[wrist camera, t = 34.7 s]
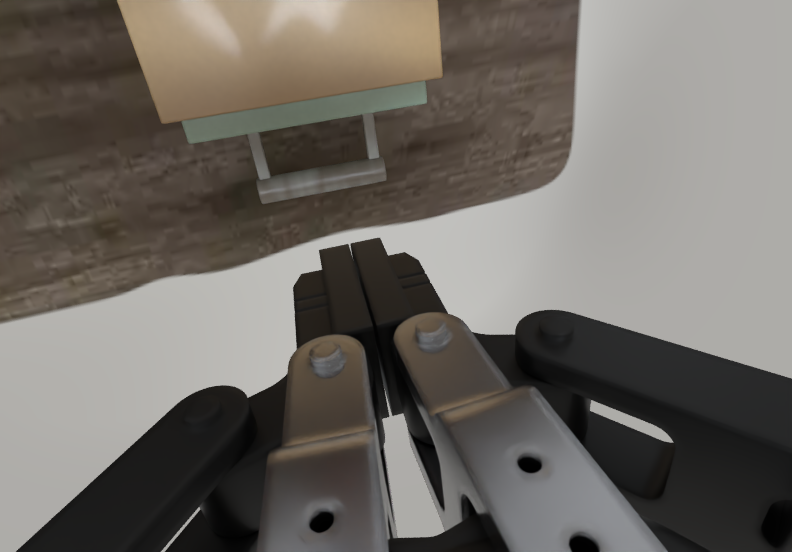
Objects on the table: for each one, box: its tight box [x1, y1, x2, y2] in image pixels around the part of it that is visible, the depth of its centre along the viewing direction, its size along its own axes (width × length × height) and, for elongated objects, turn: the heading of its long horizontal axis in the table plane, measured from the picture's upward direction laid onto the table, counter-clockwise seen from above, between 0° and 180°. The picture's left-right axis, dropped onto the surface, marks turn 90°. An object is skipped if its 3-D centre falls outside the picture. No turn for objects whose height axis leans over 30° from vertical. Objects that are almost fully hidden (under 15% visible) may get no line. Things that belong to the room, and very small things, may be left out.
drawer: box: [181, 81, 427, 204], centre depth 24 cm, size 16×11×7 cm
